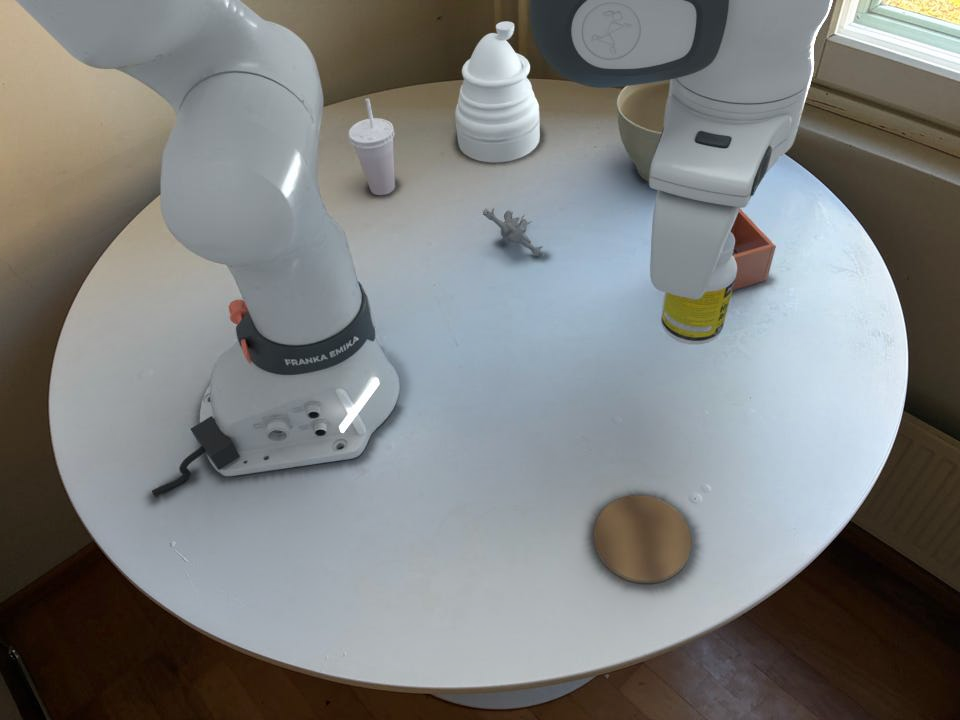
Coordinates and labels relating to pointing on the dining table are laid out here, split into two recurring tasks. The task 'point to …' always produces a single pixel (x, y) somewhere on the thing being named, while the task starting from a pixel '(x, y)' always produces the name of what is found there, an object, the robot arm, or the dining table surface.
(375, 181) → the smoothie
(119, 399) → the dining table surface
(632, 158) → the planter bowl
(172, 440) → the dining table surface
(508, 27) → the honey pot
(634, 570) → the coaster
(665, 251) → the robot arm
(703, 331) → the supplement bottle
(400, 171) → the dining table surface
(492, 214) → the grey creature figurine
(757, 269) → the box
